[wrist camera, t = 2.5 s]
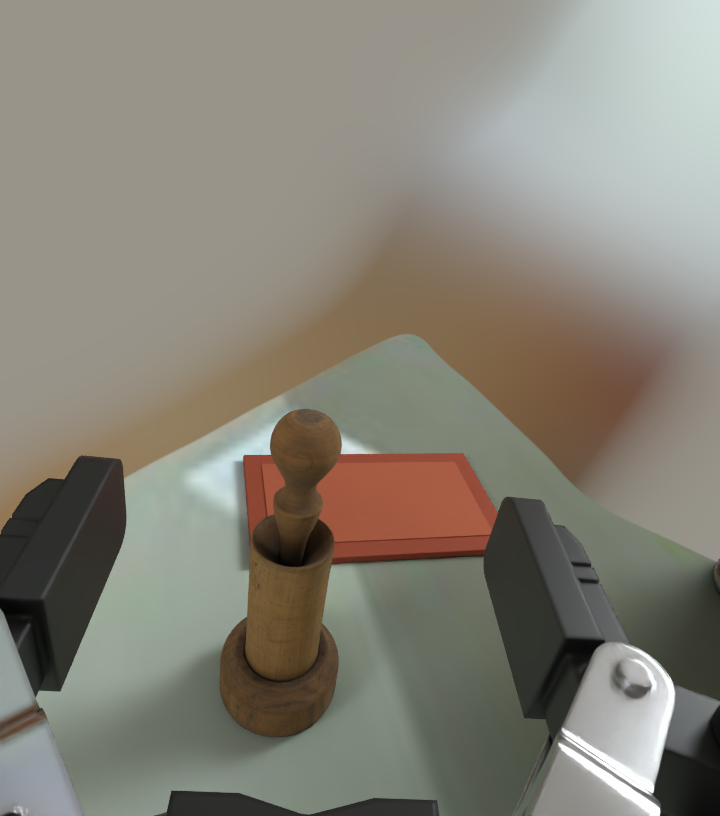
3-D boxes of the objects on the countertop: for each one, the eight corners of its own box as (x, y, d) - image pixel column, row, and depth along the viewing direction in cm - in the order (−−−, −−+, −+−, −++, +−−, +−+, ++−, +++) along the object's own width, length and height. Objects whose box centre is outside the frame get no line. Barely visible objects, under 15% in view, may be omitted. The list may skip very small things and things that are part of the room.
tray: (461, 458, 56) (463, 452, 55) (515, 553, 46) (518, 546, 45) (243, 460, 50) (243, 453, 50) (251, 568, 41) (252, 560, 40)
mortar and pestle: (208, 646, 35) (213, 382, 26) (312, 619, 38) (351, 372, 28) (234, 755, 30) (253, 477, 21) (352, 716, 33) (414, 454, 23)
